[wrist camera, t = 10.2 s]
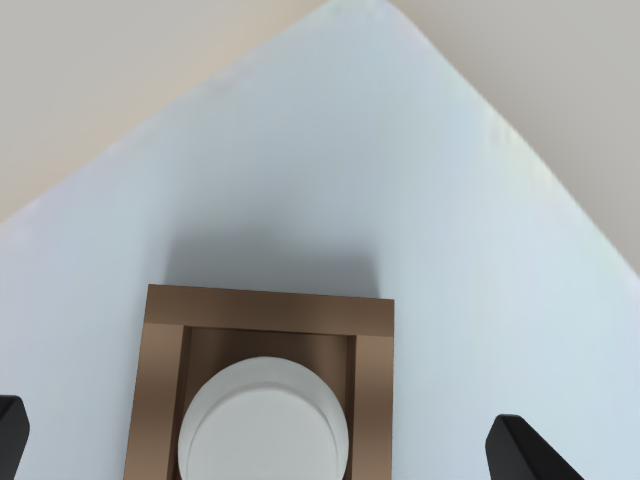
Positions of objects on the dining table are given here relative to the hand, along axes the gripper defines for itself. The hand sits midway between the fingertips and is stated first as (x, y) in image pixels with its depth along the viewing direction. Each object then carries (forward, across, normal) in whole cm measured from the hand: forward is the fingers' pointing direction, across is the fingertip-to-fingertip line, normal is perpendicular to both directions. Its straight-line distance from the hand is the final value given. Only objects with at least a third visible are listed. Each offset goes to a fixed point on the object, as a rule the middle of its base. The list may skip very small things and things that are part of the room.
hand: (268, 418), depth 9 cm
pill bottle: (+9, 0, +11) cm, 14 cm away
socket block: (+9, 0, +11) cm, 14 cm away
